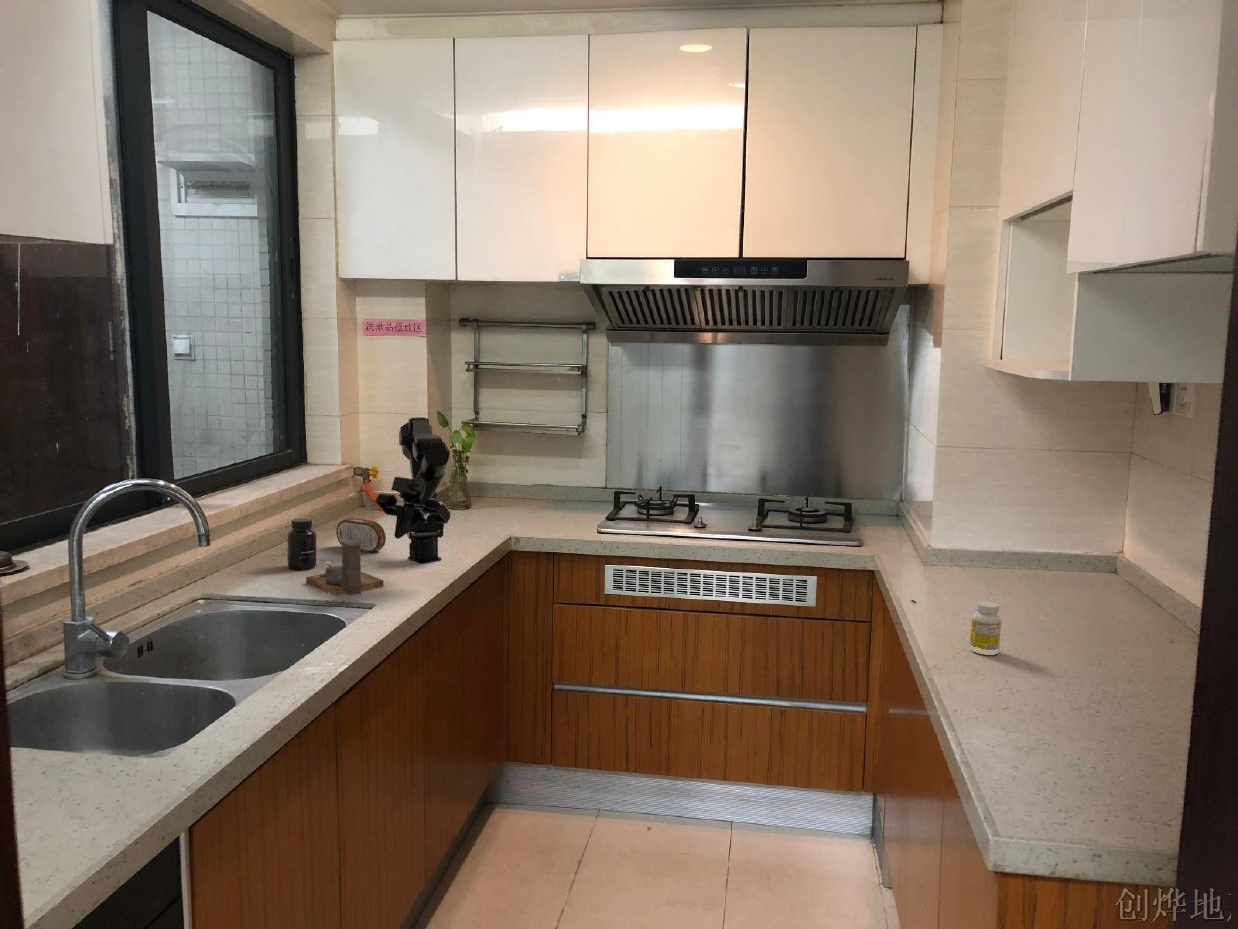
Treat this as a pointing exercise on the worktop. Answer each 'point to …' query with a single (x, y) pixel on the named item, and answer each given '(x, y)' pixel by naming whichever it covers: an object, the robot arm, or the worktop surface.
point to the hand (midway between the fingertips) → (396, 537)
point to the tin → (362, 533)
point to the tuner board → (337, 589)
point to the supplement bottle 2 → (986, 626)
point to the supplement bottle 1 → (301, 545)
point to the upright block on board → (346, 569)
